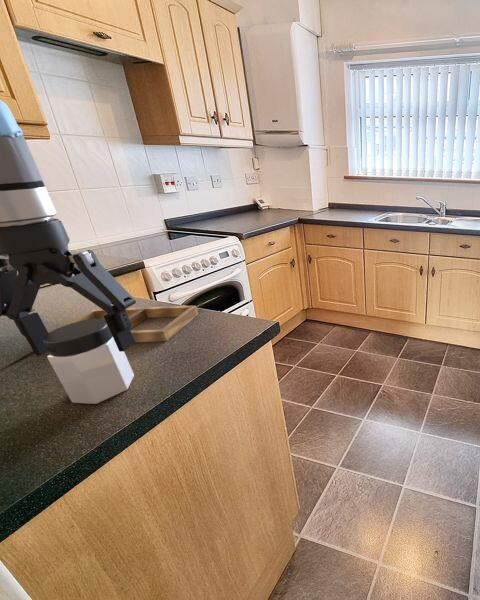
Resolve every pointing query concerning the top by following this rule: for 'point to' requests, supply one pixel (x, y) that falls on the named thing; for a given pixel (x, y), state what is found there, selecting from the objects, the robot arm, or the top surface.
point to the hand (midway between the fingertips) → (87, 349)
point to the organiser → (140, 314)
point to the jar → (88, 361)
